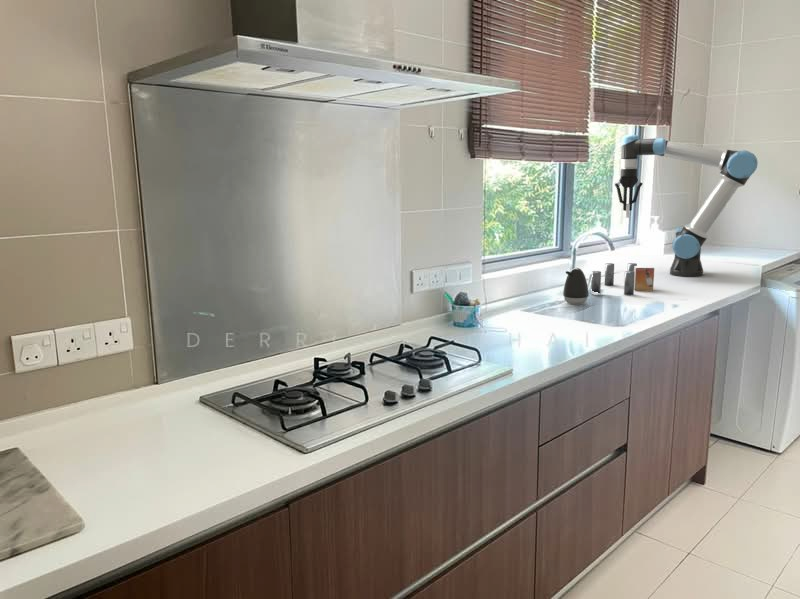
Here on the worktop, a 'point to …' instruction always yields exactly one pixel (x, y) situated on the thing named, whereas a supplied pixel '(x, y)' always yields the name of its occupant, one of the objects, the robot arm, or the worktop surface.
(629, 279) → the spacer field
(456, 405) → the worktop surface
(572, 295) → the pump dispenser
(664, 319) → the worktop surface
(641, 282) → the small box
